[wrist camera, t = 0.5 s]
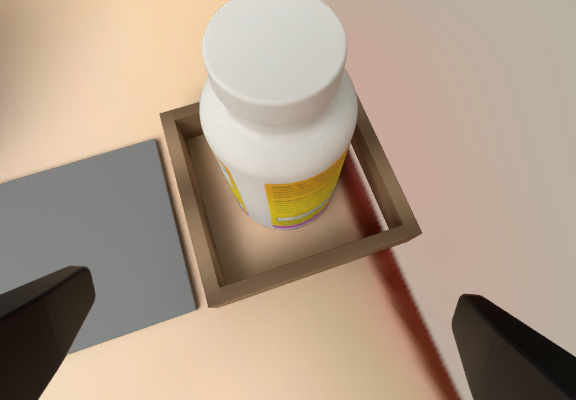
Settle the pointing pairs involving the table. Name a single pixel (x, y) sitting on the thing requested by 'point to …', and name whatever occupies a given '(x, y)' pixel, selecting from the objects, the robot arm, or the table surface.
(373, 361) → the table surface
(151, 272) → the mat
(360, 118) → the square frame
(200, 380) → the table surface
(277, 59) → the supplement bottle
